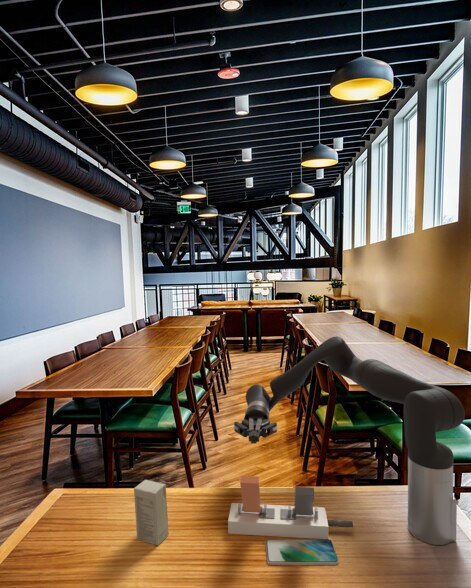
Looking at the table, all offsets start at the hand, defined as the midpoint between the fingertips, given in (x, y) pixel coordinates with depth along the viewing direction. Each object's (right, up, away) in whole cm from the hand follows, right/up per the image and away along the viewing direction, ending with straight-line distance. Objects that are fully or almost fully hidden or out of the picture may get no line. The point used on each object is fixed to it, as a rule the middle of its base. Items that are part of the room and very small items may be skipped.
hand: (253, 439), depth 101 cm
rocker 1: (-1, -13, -9) cm, 16 cm away
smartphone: (+9, -18, -18) cm, 27 cm away
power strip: (+8, -17, -10) cm, 21 cm away
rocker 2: (+11, -13, -11) cm, 20 cm away
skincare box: (-24, -18, -12) cm, 32 cm away
